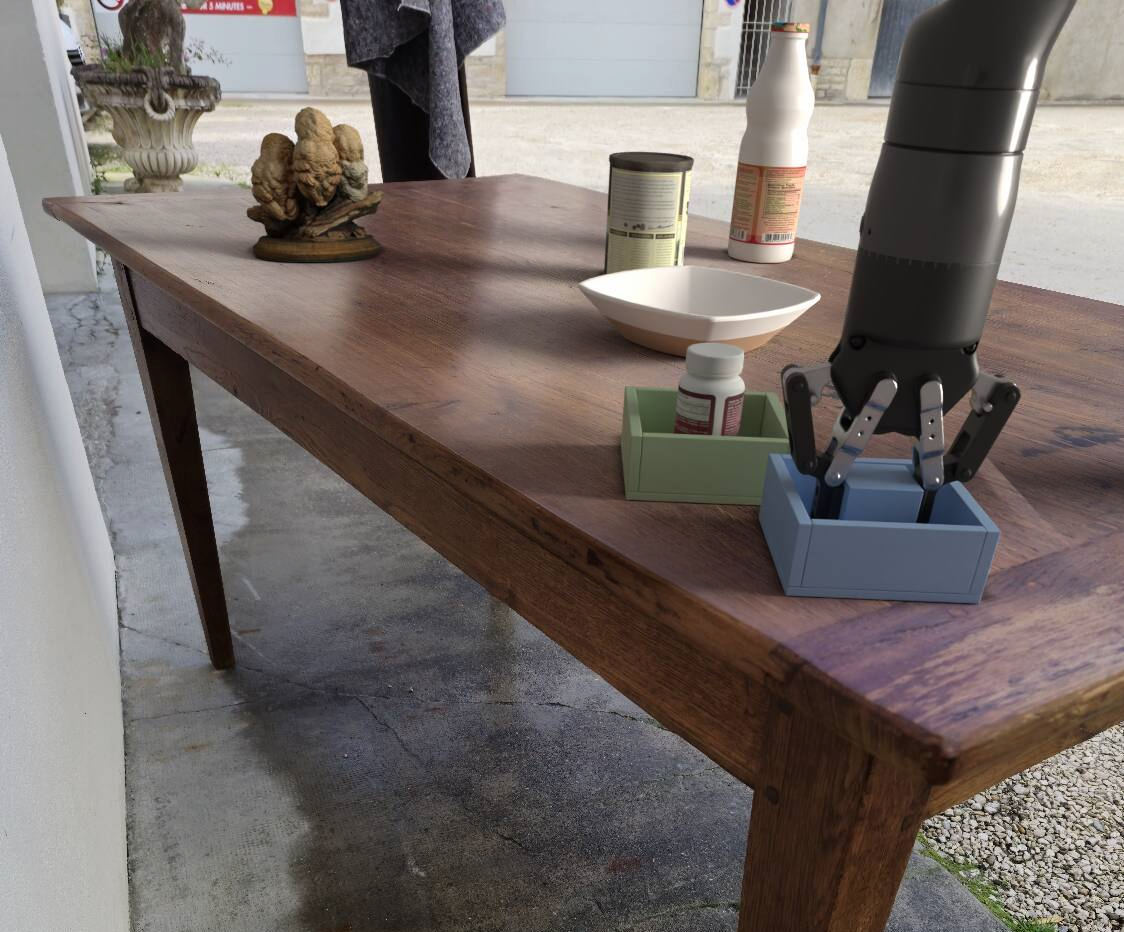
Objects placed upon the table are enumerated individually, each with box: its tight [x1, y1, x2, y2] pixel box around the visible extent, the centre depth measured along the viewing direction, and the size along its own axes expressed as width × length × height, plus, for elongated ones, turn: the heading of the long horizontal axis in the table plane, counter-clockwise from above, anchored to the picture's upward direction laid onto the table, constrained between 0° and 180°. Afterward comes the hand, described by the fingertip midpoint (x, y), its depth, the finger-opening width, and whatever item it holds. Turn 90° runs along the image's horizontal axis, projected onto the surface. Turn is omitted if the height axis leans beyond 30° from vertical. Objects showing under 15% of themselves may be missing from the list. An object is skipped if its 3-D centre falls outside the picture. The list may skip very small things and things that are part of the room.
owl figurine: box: [246, 106, 385, 263], centre depth 135 cm, size 18×12×17 cm, turn 112°
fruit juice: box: [727, 21, 816, 264], centre depth 143 cm, size 9×9×28 cm
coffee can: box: [603, 151, 695, 275], centre depth 130 cm, size 10×10×14 cm
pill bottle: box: [674, 343, 746, 437], centre depth 75 cm, size 5×5×8 cm
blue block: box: [838, 463, 924, 523], centre depth 65 cm, size 4×4×4 cm
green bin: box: [620, 385, 791, 506], centre depth 77 cm, size 12×12×5 cm
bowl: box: [577, 264, 821, 358], centre depth 108 cm, size 22×22×5 cm
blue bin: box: [758, 454, 1002, 605], centre depth 65 cm, size 12×12×5 cm
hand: (864, 538), depth 66 cm, fingers closed on blue block, 4 cm apart
